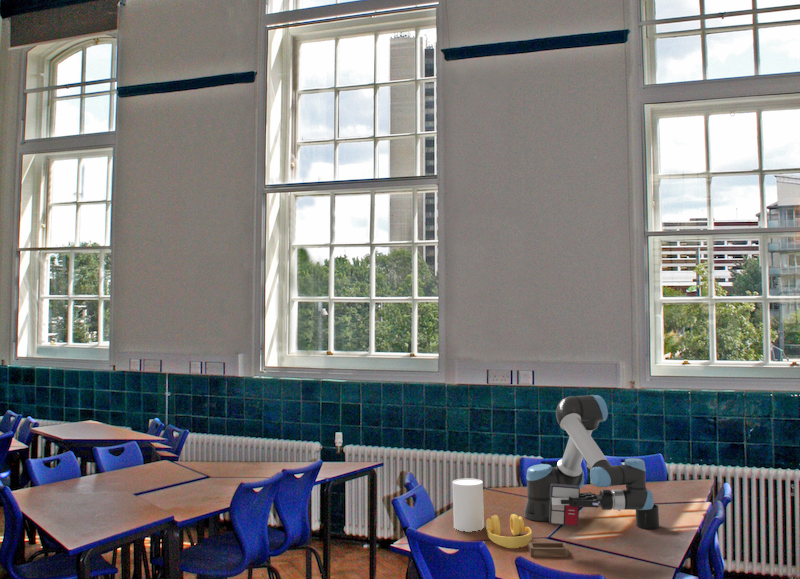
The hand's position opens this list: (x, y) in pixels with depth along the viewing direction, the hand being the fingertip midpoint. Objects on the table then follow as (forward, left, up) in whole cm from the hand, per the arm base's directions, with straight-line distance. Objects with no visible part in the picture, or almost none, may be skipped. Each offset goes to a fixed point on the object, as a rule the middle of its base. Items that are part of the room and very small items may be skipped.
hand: (551, 499), depth 256 cm
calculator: (0, +4, -10) cm, 11 cm away
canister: (-32, -32, -20) cm, 50 cm away
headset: (-15, -16, -20) cm, 30 cm away
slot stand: (+2, -2, -20) cm, 20 cm away
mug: (-32, +46, -20) cm, 59 cm away
